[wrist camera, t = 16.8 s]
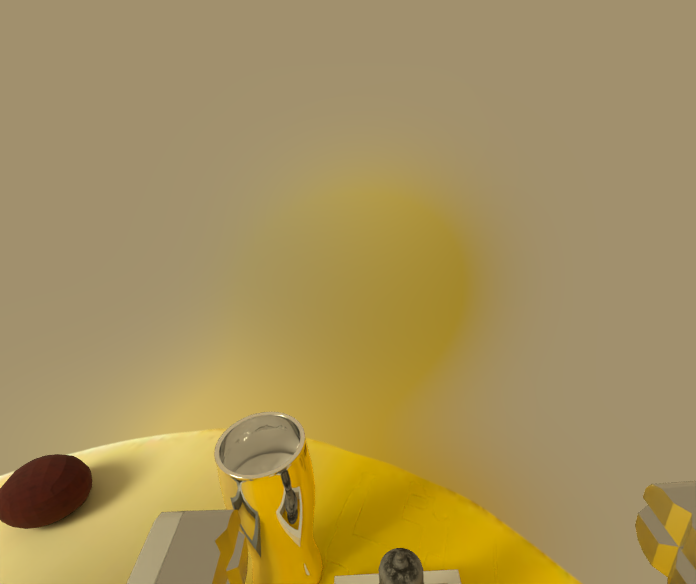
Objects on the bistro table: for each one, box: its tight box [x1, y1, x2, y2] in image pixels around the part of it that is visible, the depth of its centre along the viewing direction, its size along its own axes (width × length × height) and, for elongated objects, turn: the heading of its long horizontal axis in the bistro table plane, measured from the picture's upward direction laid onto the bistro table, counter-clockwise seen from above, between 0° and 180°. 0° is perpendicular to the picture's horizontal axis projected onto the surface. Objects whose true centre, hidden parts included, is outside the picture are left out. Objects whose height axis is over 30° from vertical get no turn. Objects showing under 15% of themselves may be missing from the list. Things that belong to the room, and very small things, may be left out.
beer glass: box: [215, 412, 322, 584], centre depth 35 cm, size 7×7×15 cm
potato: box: [0, 454, 92, 529], centre depth 45 cm, size 7×8×6 cm
